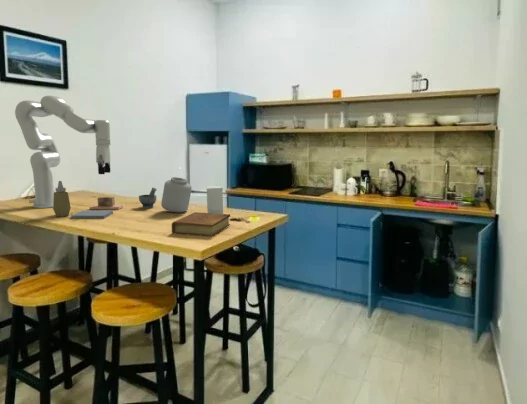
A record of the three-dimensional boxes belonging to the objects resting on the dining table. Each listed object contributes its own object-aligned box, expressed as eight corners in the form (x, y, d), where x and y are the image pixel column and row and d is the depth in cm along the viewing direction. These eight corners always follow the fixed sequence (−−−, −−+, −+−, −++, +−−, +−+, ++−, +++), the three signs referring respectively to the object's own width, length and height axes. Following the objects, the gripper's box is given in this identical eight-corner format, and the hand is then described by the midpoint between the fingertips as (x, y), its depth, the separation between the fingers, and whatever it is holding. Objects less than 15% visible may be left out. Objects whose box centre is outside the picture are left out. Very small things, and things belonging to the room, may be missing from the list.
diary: (193, 223, 189) (193, 212, 188) (230, 226, 185) (230, 214, 184) (171, 234, 167) (171, 221, 166) (212, 237, 163) (212, 224, 162)
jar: (199, 210, 220) (199, 166, 216) (187, 215, 206) (186, 168, 202) (170, 208, 226) (169, 165, 222) (156, 212, 212) (154, 166, 208)
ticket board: (71, 218, 194) (71, 215, 194) (82, 213, 208) (82, 210, 208) (104, 218, 195) (104, 215, 195) (113, 213, 209) (112, 210, 209)
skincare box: (222, 214, 209) (222, 186, 206) (223, 217, 202) (223, 187, 200) (206, 215, 207) (206, 186, 205) (207, 217, 201) (206, 187, 198)
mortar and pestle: (135, 207, 226) (134, 187, 224) (146, 205, 234) (146, 185, 232) (151, 209, 221) (150, 188, 219) (161, 207, 230) (161, 186, 228)
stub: (89, 209, 218) (88, 198, 217) (94, 206, 226) (94, 196, 225) (118, 209, 219) (118, 198, 218) (122, 206, 227) (122, 196, 226)
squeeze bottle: (74, 214, 204) (72, 180, 201) (62, 217, 196) (59, 182, 193) (62, 213, 206) (60, 179, 204) (49, 216, 199) (47, 181, 196)
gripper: (101, 142, 225) (103, 171, 228) (90, 142, 208) (92, 174, 211) (114, 142, 225) (116, 172, 228) (104, 143, 208) (106, 174, 211)
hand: (104, 173), depth 219 cm, fingers open, 9 cm apart
